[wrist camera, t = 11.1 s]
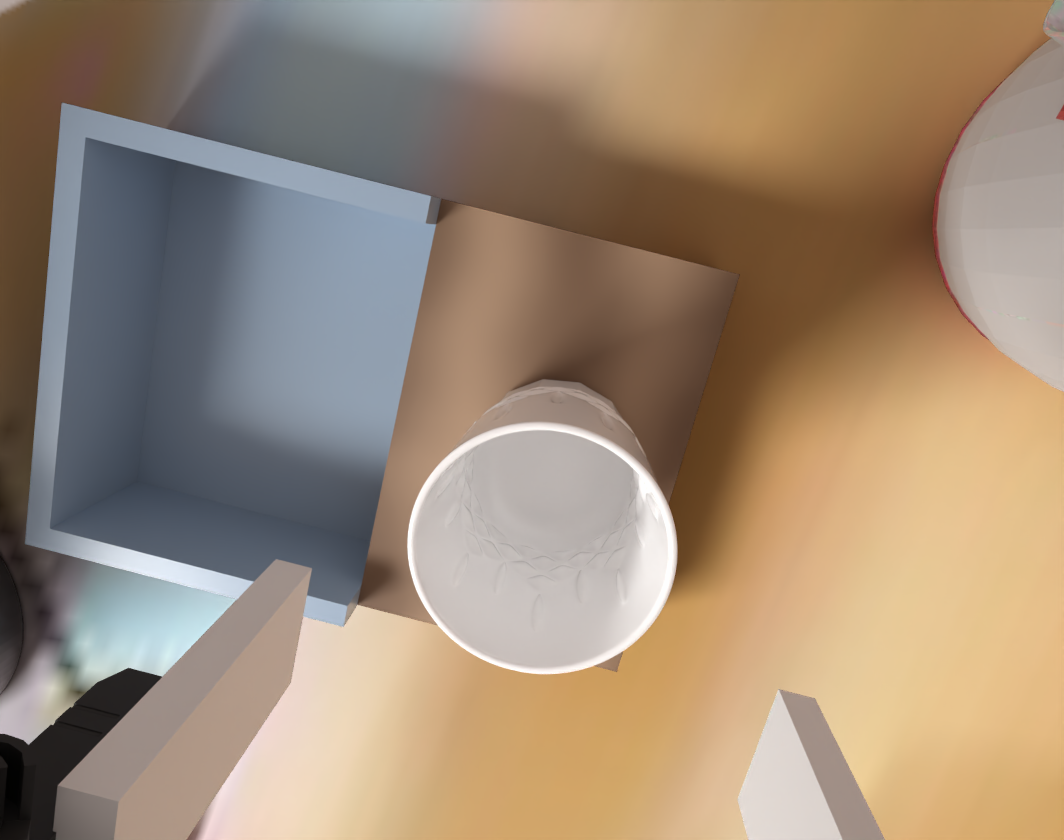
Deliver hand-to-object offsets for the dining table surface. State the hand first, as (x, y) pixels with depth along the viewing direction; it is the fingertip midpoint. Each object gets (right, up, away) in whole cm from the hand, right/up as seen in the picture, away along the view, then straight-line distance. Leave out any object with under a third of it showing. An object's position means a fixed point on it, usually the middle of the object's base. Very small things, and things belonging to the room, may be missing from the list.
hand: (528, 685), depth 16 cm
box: (-12, +9, +21) cm, 26 cm away
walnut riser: (0, +5, +21) cm, 22 cm away
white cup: (+1, +4, +16) cm, 17 cm away
